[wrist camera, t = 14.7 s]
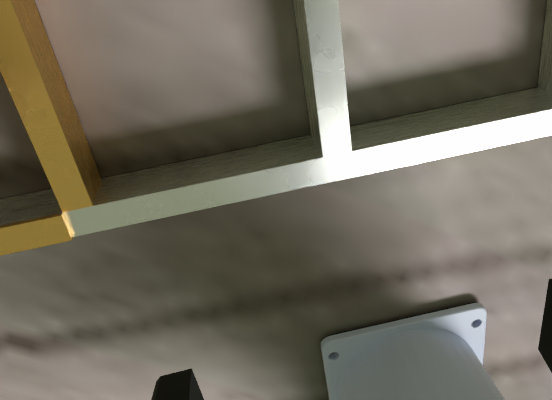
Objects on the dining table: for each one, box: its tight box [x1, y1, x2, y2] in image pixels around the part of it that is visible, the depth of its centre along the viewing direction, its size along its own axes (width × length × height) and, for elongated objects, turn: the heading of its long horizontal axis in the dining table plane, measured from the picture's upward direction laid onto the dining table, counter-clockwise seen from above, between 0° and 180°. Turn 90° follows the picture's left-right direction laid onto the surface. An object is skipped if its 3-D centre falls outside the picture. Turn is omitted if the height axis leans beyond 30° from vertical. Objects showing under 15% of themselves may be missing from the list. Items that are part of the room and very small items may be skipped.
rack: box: [0, 0, 552, 256], centre depth 16 cm, size 10×27×2 cm, turn 99°
